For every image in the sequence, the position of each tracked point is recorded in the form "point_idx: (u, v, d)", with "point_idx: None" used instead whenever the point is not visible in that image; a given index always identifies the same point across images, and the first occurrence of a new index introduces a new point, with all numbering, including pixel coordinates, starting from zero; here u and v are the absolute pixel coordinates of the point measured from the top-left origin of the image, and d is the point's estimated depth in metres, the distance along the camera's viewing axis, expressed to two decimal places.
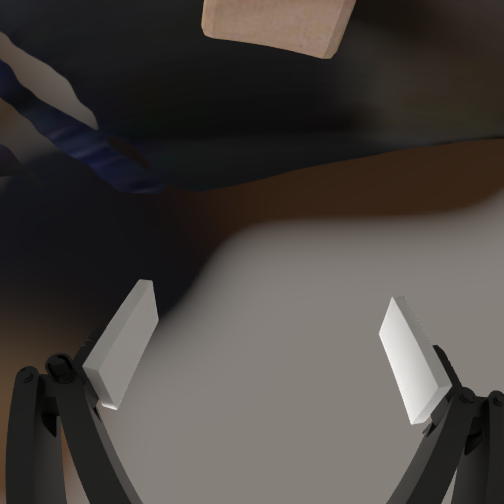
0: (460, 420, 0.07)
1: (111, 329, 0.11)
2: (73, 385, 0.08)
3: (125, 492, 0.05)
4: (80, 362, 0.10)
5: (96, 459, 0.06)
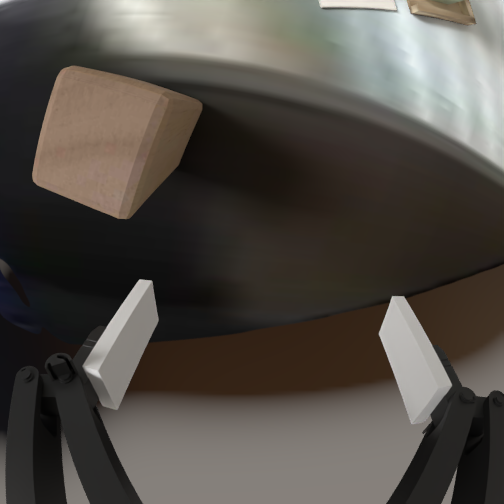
0: (460, 420, 0.07)
1: (111, 329, 0.11)
2: (73, 385, 0.08)
3: (125, 492, 0.05)
4: (80, 362, 0.10)
5: (96, 459, 0.06)
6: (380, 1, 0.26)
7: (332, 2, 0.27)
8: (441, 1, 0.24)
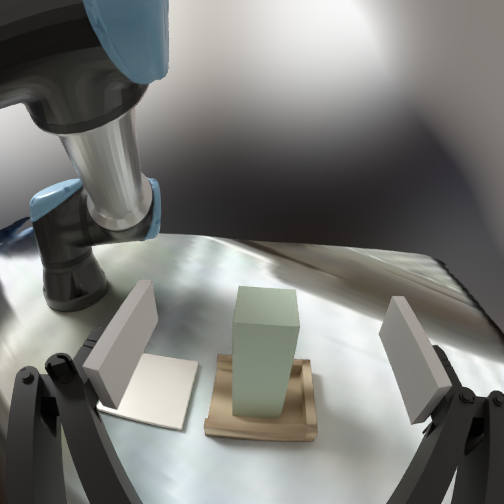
0: (460, 420, 0.07)
1: (111, 329, 0.11)
2: (73, 385, 0.08)
3: (125, 492, 0.05)
4: (80, 362, 0.10)
5: (96, 459, 0.06)
6: (164, 417, 0.31)
7: None
8: (262, 415, 0.32)
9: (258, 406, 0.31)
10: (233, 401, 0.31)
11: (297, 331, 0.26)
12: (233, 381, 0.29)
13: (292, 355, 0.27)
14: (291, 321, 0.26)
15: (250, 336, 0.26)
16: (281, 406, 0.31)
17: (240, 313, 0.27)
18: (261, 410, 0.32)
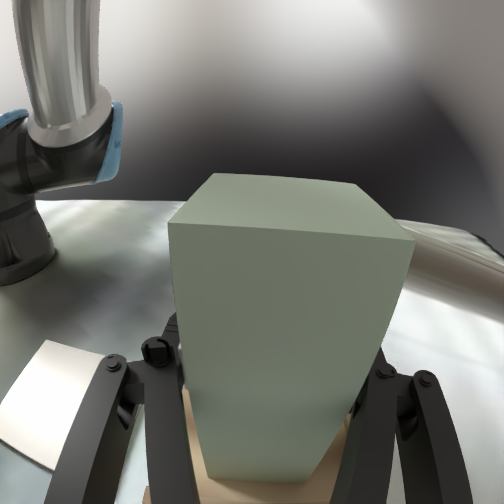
0: (383, 397, 0.09)
1: None
2: (167, 371, 0.10)
3: (192, 486, 0.06)
4: None
5: (172, 448, 0.07)
6: None
7: (1, 430, 0.12)
8: (270, 479, 0.13)
9: (263, 467, 0.12)
10: (205, 458, 0.12)
11: (405, 262, 0.07)
12: (197, 423, 0.10)
13: (372, 354, 0.08)
14: (382, 229, 0.07)
15: (237, 287, 0.07)
16: (313, 467, 0.12)
17: (202, 206, 0.08)
18: (268, 473, 0.13)
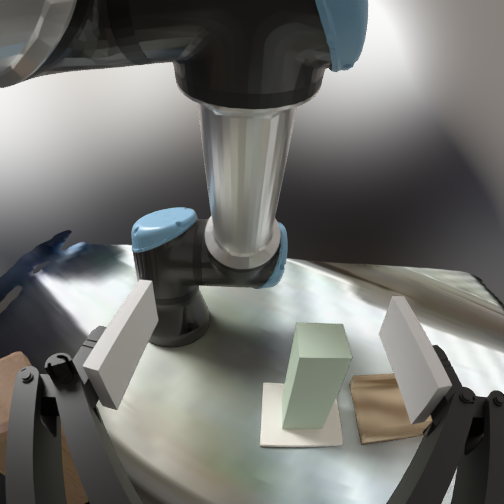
0: (460, 420, 0.07)
1: (111, 329, 0.11)
2: (73, 385, 0.08)
3: (125, 492, 0.05)
4: (80, 362, 0.10)
5: (96, 459, 0.06)
6: (326, 437, 0.35)
7: (272, 440, 0.35)
8: (308, 426, 0.36)
9: (306, 419, 0.35)
10: (285, 417, 0.35)
11: (349, 361, 0.30)
12: (289, 401, 0.33)
13: (342, 379, 0.31)
14: (345, 354, 0.30)
15: (312, 367, 0.30)
16: (325, 418, 0.35)
17: (303, 349, 0.31)
18: (308, 423, 0.36)
